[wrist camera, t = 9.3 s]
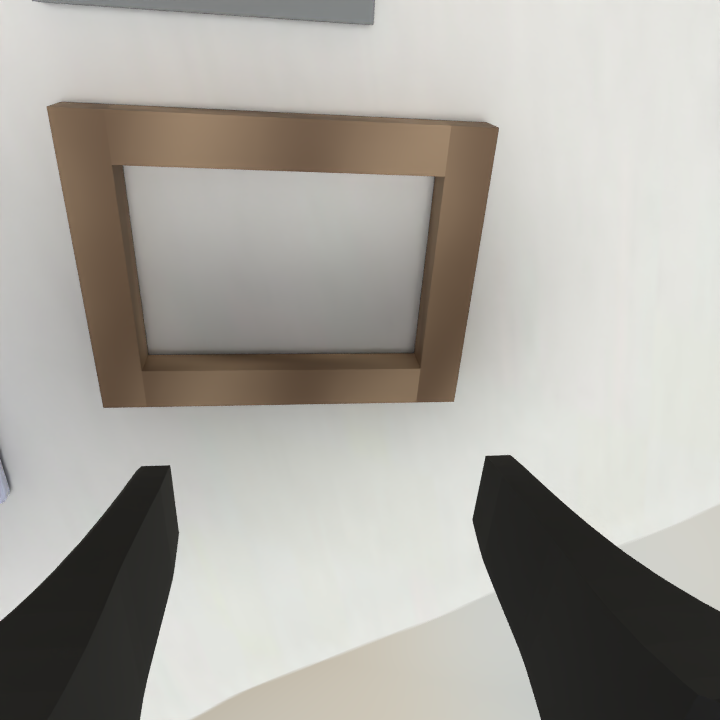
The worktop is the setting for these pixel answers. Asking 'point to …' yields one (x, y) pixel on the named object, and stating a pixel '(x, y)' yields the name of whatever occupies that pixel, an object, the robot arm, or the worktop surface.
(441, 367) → the walnut frame
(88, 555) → the robot arm
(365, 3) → the slate mat
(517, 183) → the worktop surface
